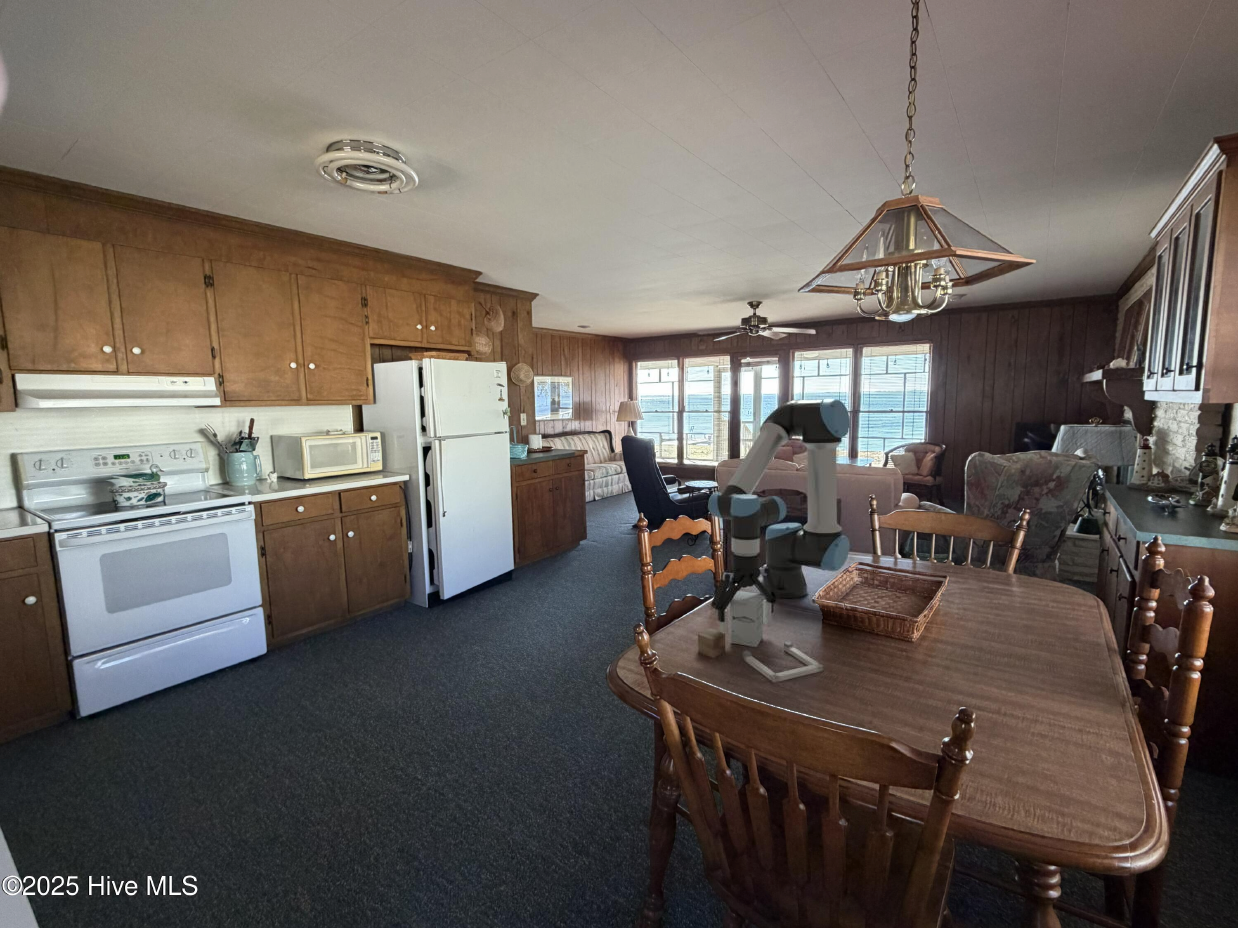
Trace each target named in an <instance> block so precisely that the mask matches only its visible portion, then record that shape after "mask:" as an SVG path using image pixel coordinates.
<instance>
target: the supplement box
mask: <svg viewBox="0 0 1238 928" xmlns="http://www.w3.org/2000/svg"><path fill="white" fill-rule="evenodd" d="M763 600H764V596H763V594H761V593H757V592H756V593H754V592H747V591H742V590H741V591H740V590H739V591H737V593H736V594H735V596H734V597H733V599H732V600H731V602H730V603H729V605H730V611H729V613H730V629H729V630H730V640H729V641H730V644H736V645H741V646H743V645H744V646H748V647H752V648H757V647H758V646H759V644H760V642H761V640H762V639H763V625H764V623H763Z"/></svg>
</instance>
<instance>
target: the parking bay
mask: <svg viewBox="0 0 1238 928" xmlns="http://www.w3.org/2000/svg"><path fill="white" fill-rule="evenodd" d="M783 645H784V646H783V650H784V651H785V652H787V653H788V654H790V655H791V656H793V657H794V658H795V659H797V660H799V661H800V662H801V663H803V664H805V665H806V666H803V667H799V668H794V669H790V670H785V671H780V672H774V671H773V670H772V669H770V668H769V667H767V666H766V665H764V664H763V663H762V662H761V661H759V660H758V659H756V658H755V657H754V656H752V652H751V651H750V650H743V651H742V660H743V661H745V662H746V663H747V664H749V666H751V667H752V668H754V669H755V670H756V671H758V672H759V673H761V674H762V675H763V676H764V677H766V678H767V679H768V680H770V681H771V682H773V683H774V684H775V683H778V682H782V681H786V680H790V679H795V678H799V677H803V676H806V675H807V676H808V675H810V674H811V675H812V674H816V673H819V672H823V671H824V665H823V664H821V663H819V662H817V661H816V660H814V659H813V658H811V657H809V656H808V655H807V654H805V653H803V652H801V650H799V649H797V648H795V647H794V646H793V645H794V644H793V642H790V641H785V642H784V643H783Z"/></svg>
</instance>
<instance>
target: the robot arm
mask: <svg viewBox="0 0 1238 928" xmlns="http://www.w3.org/2000/svg"><path fill="white" fill-rule="evenodd" d="M850 421H851V420H850V414H849V411H848V409H847V407H846V405H845V404H844V403H843V401H842V400H840V399H838V398H837V399H836V398H835V399H834V398H815V399H813V398H812V399H793V400H789V401H787V402H784V403H783V404H781V405H780V406H778V407H777V408H776V409H774V410H773V411H772V412H771V413H770V414H769V415H768V416H767V417H766V418H765V420H764V421H763V422H762V424H761V426H760V428H759V434H758V436H757V438H756V439H755V441H754V442H753V444H752V446H751V447H750V449H748V452H747V454H746V455H745V457H744V458H743V460H742V461H741V462H740V464H739V466H738V468H737V469H736V471H734V474H733V475H732V477H731V479H730V480H729V481H728V484H727V485H726V487H725V488H724V489H723V491H722V492H721V491H718V492H717V491H716V492H714V493H712V494H711V495H710V497H709V499H708V503H707V504H708V505H707V507H708V511H709V513H710V514H711V516H713V517H715V518H720V519H723V520H731V521H730V525H731V534H730V535H731V552H732V553H731V567H732V570H731V572H726V571H722V572H721V573H720V574H721V575H720V582H719V584H718V586H717V589H716V591H715V594H714V596H713V599H712V601H711V603H710V606H711V607H712V608H713V609H715V610H716V611H717V620H718V622H720V632H722V633H724V634H725V636H726V635H729V610H727V608H728V606H729V605H730V602H731V600H732V599H733V597H734V596H735V594H736V593H737V591H740V590H741V589H745V588H747V587H748V588H751V587H753V586H754V587H755V588H756V589H757V590H758V592H759V594H763V598H764V599H763V625H765V626H768V627H772V614H773V613H774V604H776V603H777V600H779V599H797V598H798V599H799V598H801V597H804V596H806V595H807V594H808V583H807V582H806V578H805V574H804V573H803V567H808V568H811V569H812V568H813V569H816V570H817V569H818V570H821V571H823V572H825V571H828V572H838V571H839V570H841V569H842V568H843V566H844V565H845V563H846V561H847V559H848V557H849V554H850V547H851V544H850V540H849V538H848V537H847V536H846V535H845V534H843V532H842V531H843V528H842V527H841V525H840V524H838V522H837V521H838V519H837V513H838V512H837V509H838V508H837V505H838V504H837V491H838V490H837V449H838V447H839V446H840V445H841V444H842V443H843V442H842V441H843V440H842V439H843V438H844V437H846V436H847V435H848V433H849V429H850V427H851V426H850V424H851V422H850ZM792 437H801V438H802V439H801V442H802V444H803V445H804V447H806V449H807V450H806V452H807V454H806V457H807V458H806V459H807V461H806V462H807V465H806V466H807V472H806V473H807V523H805V524H804V525H802V524H801V523H799V522H781V521H783V519H784V518H785V517H786V515H787V511H788V510H787V504H786V503H785V501H784V500H783V499H782V498H781V497H778V496H775V495H774V496H773V495H772V496H770V495H769V496H765V497H760V496H758V495H757V494H753V493H754V491H755V489H756V487H757V486H758V484H759V483H760V480H761V479H762V478H763V475H764V474H765V472H766V471H767V469H768V468H769V466H770V464H771V462H772V461H773V460H774V458H775V456H776V454H777V453H778V452H779V450H780V448H781V446H784V445H785V444H787V443H788V441H789V439H791V438H792ZM778 522H781V523H778ZM762 527H767V528H766V531H765V539H764V540H765V566H764V565H762V566H761V554H760V553H761V528H762ZM760 575H761V576H762V579H761V580H762V581H761V580H760V579H759V578H760Z"/></svg>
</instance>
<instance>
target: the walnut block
mask: <svg viewBox="0 0 1238 928" xmlns="http://www.w3.org/2000/svg"><path fill="white" fill-rule="evenodd" d="M697 649H698V653H701V654H703V655H705V656H708V657H710V658H712V659H714V658H716V657H718V656H720V655H721V654H725V653H726V635H725V634H724V633H723V632H721V631H719V630H716V629H713V628H708V629H706V630H703V631H701V632H699V633H698V634H697Z"/></svg>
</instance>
